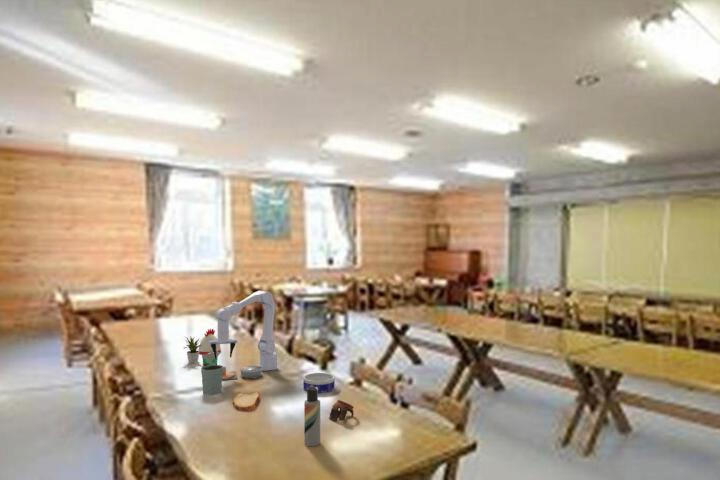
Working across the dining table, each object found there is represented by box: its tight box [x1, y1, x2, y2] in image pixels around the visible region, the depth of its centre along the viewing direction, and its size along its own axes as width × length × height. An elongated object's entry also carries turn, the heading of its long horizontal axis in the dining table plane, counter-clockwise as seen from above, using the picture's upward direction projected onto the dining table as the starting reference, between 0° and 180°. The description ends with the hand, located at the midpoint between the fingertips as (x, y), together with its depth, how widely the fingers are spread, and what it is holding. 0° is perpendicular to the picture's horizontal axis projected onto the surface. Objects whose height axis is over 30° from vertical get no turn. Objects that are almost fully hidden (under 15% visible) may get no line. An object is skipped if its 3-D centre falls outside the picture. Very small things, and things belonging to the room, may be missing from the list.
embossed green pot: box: [200, 364, 223, 396], centre depth 235 cm, size 10×10×12 cm
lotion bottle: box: [303, 387, 321, 447], centre depth 176 cm, size 6×6×20 cm
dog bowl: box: [302, 372, 336, 394], centre depth 241 cm, size 15×15×6 cm
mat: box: [222, 370, 238, 381], centre depth 262 cm, size 16×14×1 cm
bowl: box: [240, 365, 263, 379], centre depth 263 cm, size 11×11×4 cm
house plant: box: [183, 335, 203, 364], centre depth 293 cm, size 14×14×16 cm
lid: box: [222, 365, 235, 379], centre depth 261 cm, size 12×12×5 cm
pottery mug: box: [328, 399, 355, 423], centre depth 200 cm, size 12×10×8 cm
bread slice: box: [232, 391, 261, 413], centre depth 220 cm, size 18×18×4 cm
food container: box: [201, 350, 220, 367], centre depth 276 cm, size 12×6×10 cm, turn 168°
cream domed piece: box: [197, 328, 222, 355], centre depth 320 cm, size 14×14×15 cm
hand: (223, 357), depth 261 cm, fingers open, 7 cm apart
